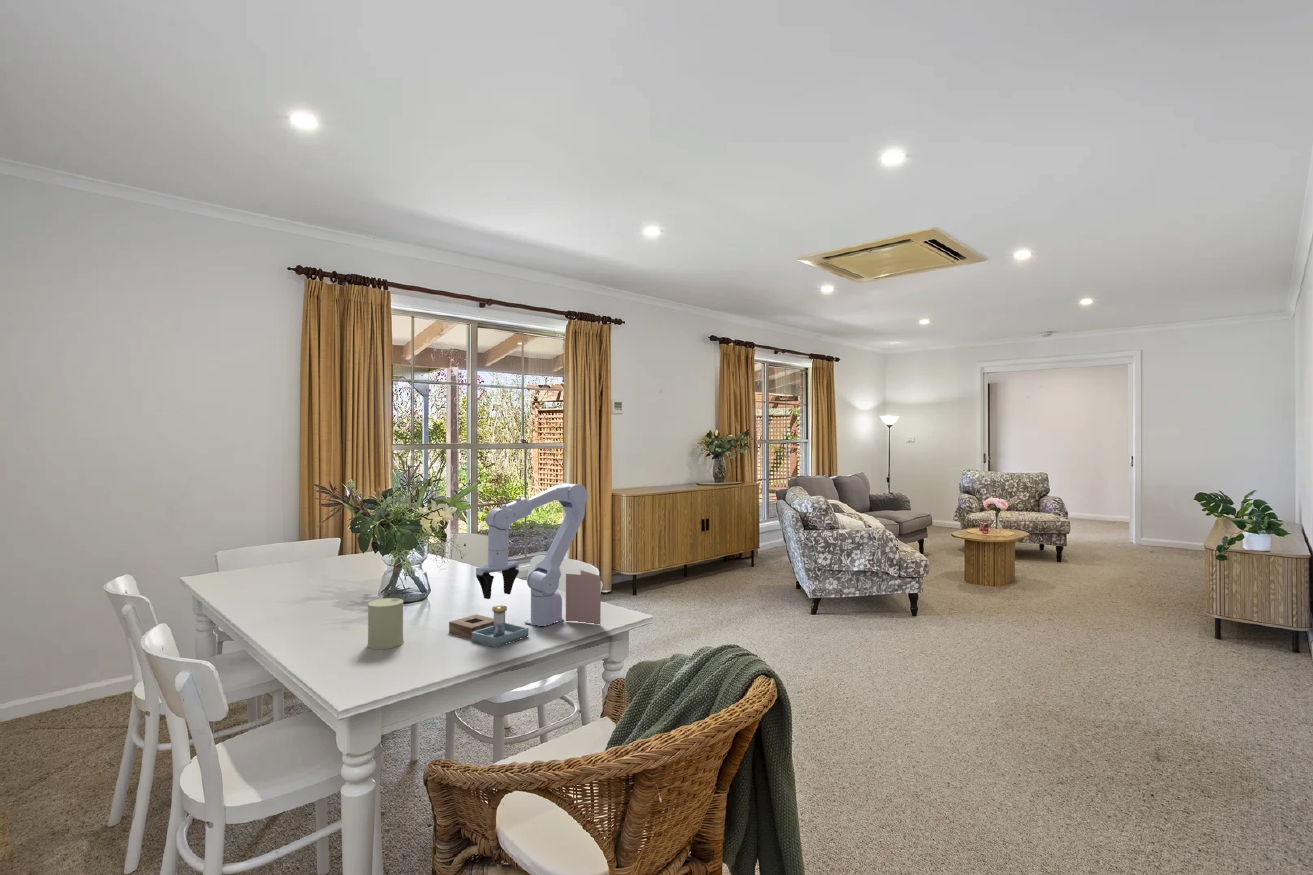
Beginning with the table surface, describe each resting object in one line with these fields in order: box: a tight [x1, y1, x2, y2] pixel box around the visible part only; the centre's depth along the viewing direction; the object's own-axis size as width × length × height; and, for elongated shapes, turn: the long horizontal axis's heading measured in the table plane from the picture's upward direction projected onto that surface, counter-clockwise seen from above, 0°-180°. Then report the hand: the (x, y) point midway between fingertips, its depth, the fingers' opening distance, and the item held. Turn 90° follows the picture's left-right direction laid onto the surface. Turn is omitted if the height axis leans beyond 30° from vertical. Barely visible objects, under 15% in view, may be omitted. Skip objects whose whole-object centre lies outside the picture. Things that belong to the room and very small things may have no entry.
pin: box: [491, 605, 508, 637], centre depth 184 cm, size 4×4×8 cm
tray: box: [471, 621, 530, 648], centre depth 184 cm, size 12×10×2 cm
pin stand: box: [448, 613, 494, 639], centre depth 191 cm, size 10×10×3 cm
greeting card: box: [565, 569, 602, 625], centre depth 200 cm, size 11×7×15 cm, turn 38°
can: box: [367, 597, 405, 650], centre depth 179 cm, size 9×9×12 cm
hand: (497, 596), depth 190 cm, fingers open, 7 cm apart
